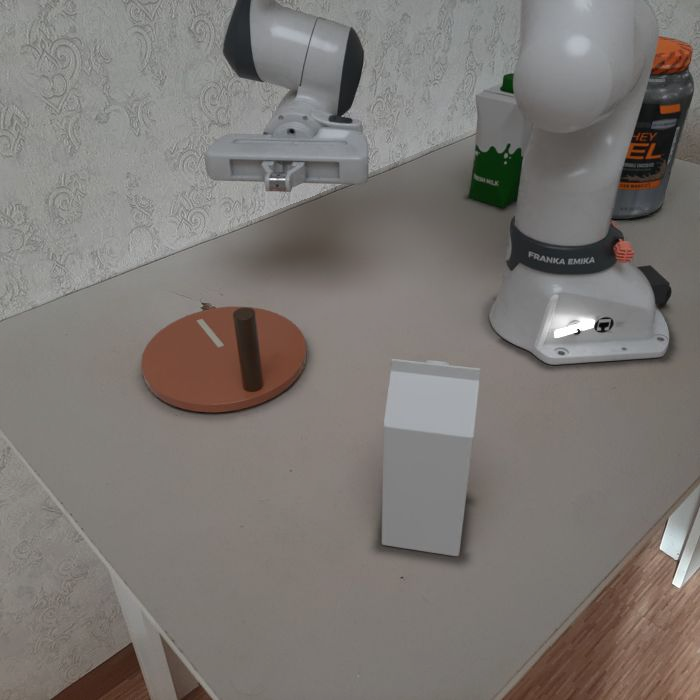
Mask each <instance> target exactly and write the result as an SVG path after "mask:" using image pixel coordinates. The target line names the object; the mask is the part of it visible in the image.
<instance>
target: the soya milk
mask: <svg viewBox="0 0 700 700" xmlns="http://www.w3.org/2000/svg"><path fill="white" fill-rule="evenodd" d="M513 76H514V72H513V73H506V74H504V75H503V77H502V83H501V82H500V83H498V84H496V85H493V86H491V87H488V88H485V89H483V90H482V91H481V92H479V93H477V94H475V106H476V107H475V108H476V115H477V118H476V129H475V140H474V150H473V151H474V152H473V162H472V163H473V164H472V171H471V179H470V186H469V193H468V198H470V199H472V200H476V201H479V202H482V203H486V204H489V205H490V206H491V205H492V206H494V207H499V208H502V209H504V208H506V207H507V206H509V205H510V204H511V203H513V202H515V201H517V198H518V191H519V184H520V176H521V169H522V161H523V157H524V154H525V151H526V149H527V146H528V143H529V141H530V138H531V134H532V131H533V128H534V124H532V123H531V122H530V121H529V120H528V119H527V118H526V117H525V116H524V115H523V113H522V112H521V110H520V109H519V107H518V105H517V102H516V100H515V96H514V91H513Z"/></svg>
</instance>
